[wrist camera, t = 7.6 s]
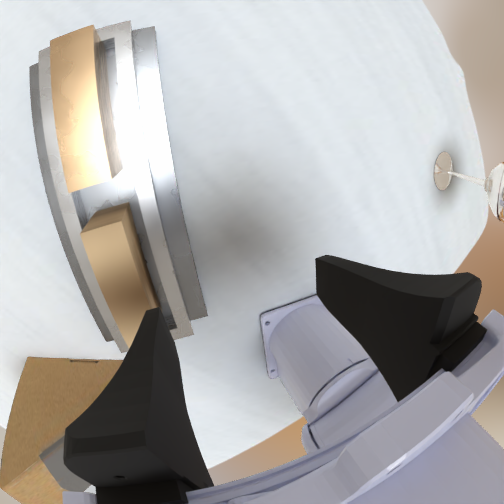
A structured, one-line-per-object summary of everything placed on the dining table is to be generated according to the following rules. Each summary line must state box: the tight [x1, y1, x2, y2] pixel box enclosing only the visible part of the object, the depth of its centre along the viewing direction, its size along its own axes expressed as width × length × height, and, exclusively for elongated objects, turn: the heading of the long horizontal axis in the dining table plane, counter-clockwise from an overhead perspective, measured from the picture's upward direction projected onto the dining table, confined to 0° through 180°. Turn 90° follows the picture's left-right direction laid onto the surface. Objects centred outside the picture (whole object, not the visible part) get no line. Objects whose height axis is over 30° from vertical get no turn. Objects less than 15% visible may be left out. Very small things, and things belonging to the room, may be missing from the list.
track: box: [30, 21, 208, 353], centre depth 14 cm, size 22×9×5 cm, turn 8°
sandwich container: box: [0, 357, 123, 504], centre depth 16 cm, size 9×15×15 cm, turn 82°
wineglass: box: [434, 152, 504, 223], centre depth 21 cm, size 7×7×12 cm
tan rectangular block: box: [80, 202, 162, 348], centre depth 16 cm, size 8×2×4 cm, turn 8°
